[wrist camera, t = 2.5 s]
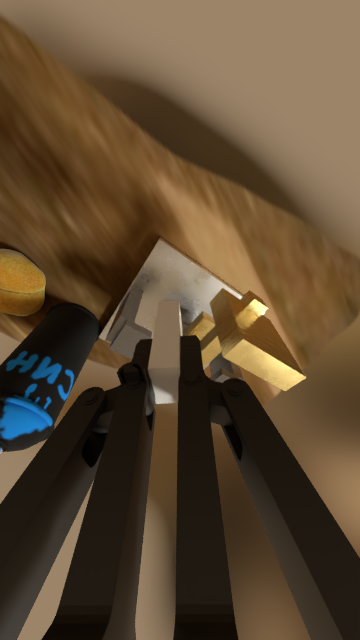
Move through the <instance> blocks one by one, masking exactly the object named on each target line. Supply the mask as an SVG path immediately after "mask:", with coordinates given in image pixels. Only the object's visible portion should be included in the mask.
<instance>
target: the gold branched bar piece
mask: <svg viewBox="0 0 360 640" xmlns="http://www.w3.org/2000/svg"><path fill="white" fill-rule="evenodd" d="M210 307H211V311H212V315H213V317H212V316H210V315H209V314H207V313H205V312H204V311H202V312H201V313H200V314H199V315H198V316H197V318H196V319H195V320H194V321H193V322H192V323H191V324H190V326H189V327H188V328H187V329H186V330H185V331H184V332H183V333H182V336H189V335H196V336H197V337H198V338H199V340H200V345H201V353H202V362H203V368H204V367H205V366H206V365H207V364H208V363H210V362H211V361H212V360H213V359H214V358H215V357H216V356H217V355H218V354H219V353H220V352H221V351H222V355H223V357H224V358H226V359H227V360H229V361H231V362H233V363H235V364H237V365H238V366H240V367H242V368H244V369H246V370H248V371H249V372H251V373H253V374H255V375H257V376H259V377H260V378H262V379H264V380H266V381H268V382H270V383H271V384H273V385H275V386H277V387H279V388H281V389H282V390H284V391H286V390H288V389H289V388H291V387H292V386H294V385H295V384H297V383H298V382H300V381H301V380H303V379H304V378H306V376H305V375H304V373H303V371H302V370H301V368H300V367H299V365H298V364H297V362H296V360H295V359H294V357H293V356H292V354H291V353H290V351H289V349H288V348H287V346H286V345H285V343H284V342H283V340H282V338H281V337H280V335H279V334H278V332H277V331H276V329H275V327H274V326H273V324H272V323H271V321H270V320H269V319H268V318H266V317H265V316H263V315H262V313H263V312H265V311H266V310H267V309H268V308H267V306H266V305H265V303H264V302H263V300H262V299H261V298H259V297H258V296H257V295H255V294H254V293H252V292H251V291H250V290H249V291H248V292H247V293H246V294H245V295H244V296H243V297H242V298H241V299H238V298H237V297H236V296H234V295H233V294H231V293H230V292H228V291H227V290H225V289H224V288H222V289H221V290H220V291H219V292H218V293H217V295H216V296H215V297H214V298H213V299H212V300H211V301H210Z"/></svg>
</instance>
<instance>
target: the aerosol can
mask: <svg viewBox="0 0 360 640" xmlns="http://www.w3.org/2000/svg"><path fill="white" fill-rule="evenodd" d="M100 333H101V327H100V324H99V322H98V320H97V318H96V317H95V316H94V315H93V314H92V313H91V312H90V311H88V310H87V309H85V308H83V307H81V306H78V305H75V304H65V303H64V304H58V305H56V306H54V307H52V308H51V309H50V310H49V311H48V312H47V315H46V317H45V318H44V319H43V320H42V321H41V322H40V323H39V324H38V325H37V327H36V328H35V329H34V330H33V331H32V332H31V333H30V334H29V335H28V336H27V337H26V338H25V339H24V340H23V342H22V343H21V344H20V345H19V346H18V347H17V348H16V349H15V350H14V351H13V352H12V353H11V354H10V356H9V357H8V358H7V359H6V360H5V361H4V362H3V363H2V364H1V365H0V455H1V453H2V452H5V451H6V452H9V451H18V450H23V449H27V448H29V447H31V446H33V445H35V444H37V443H39V442H41V441H44V440H46V439H48V438H49V436H50V435H51V434H52V432H53V431H54V424H55V422H56V420H57V417H58V416H59V414H60V411H61V409H62V407H63V405H64V403H65V401H66V399H67V397H68V395H69V393H70V391H71V389H72V387H73V385H74V383H75V381H76V379H77V377H78V375H79V373H80V371H81V369H82V367H83V365H84V363H85V361H86V359H87V357H88V355H89V353H90V351H91V349H92V347H93V345H94V343H95V342H96V341H97V340H98V338H99V336H100Z"/></svg>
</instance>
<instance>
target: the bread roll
mask: <svg viewBox="0 0 360 640" xmlns="http://www.w3.org/2000/svg"><path fill="white" fill-rule="evenodd" d="M45 285H46V279H45V275H44V273H43V272H42V271H41V270H40V269H39V268H38V267H37V266H36V265H35V264H34V263H33V262H31V261H30V260H29V259H28V258H27V257H26V256H24V255H23V254H21V253H19V252H17V251H14V250H10V249H0V312H3V313H7V314H12V315H16V316H28V315H29V314H33V313H35V312H37V311H39V310H40V309H41V307H42V305H43V304H44V300H45Z"/></svg>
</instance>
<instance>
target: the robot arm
mask: <svg viewBox="0 0 360 640" xmlns="http://www.w3.org/2000/svg"><path fill="white" fill-rule="evenodd" d="M117 374H118V377H119V380H120V382H121V385H120V386H118V387H115V388H113V389H110V390H107V391H103V389H102V388H99V387H92V388H89V389H87V390H85V391H84V392H82V393H81V394H80V395H79V396H78V398H77V399H76V401H75V402H74V403H73V405H72V406H71V407H70V409H69V410H68V412H67V413H66V414H65V416H64V417H63V419H62V420H61V421H60V423H59V424H58V426H57V427H56V428H55V429H54V431H53V432H52V434H51V435H50V436H49V438H48V439H47V441H46V442H45V443H44V445H43V446H42V447H41V449H40V450H39V452H38V453H37V454H36V456H35V457H34V459H33V460H32V461H31V463H30V464H29V465H28V467H27V468H26V470H25V471H24V472H23V474H22V475H21V476H20V478H19V479H18V480H17V482H16V483H15V485H14V486H13V487H12V489H11V490H10V491H9V493H8V494H7V496H6V497H5V498H4V500H3V501H2V503H1V504H0V640H17V638H18V636H19V634H20V632H21V630H22V627H23V626H24V623H25V621H26V619H27V617H28V615H29V613H30V611H31V609H32V607H33V605H34V603H35V601H36V599H37V597H38V594H39V592H40V590H41V588H42V586H43V584H44V582H45V580H46V578H47V576H48V574H49V572H50V569H51V567H52V565H53V563H54V561H55V559H56V557H57V555H58V553H59V551H60V549H61V547H62V545H63V542H64V540H65V538H66V536H67V534H68V532H69V530H70V528H71V526H72V524H73V522H74V520H75V518H76V515H77V513H78V511H79V509H80V507H81V505H82V503H83V501H84V499H85V497H86V495H87V493H88V490H89V488H90V486H91V484H92V482H93V480H94V483H93V486H92V490H91V493H90V497H89V501H88V504H87V508H86V511H85V515H84V518H83V522H82V525H81V529H80V533H79V537H78V540H77V543H76V547H75V550H74V554H73V558H72V561H71V565H70V568H69V572H68V575H67V579H66V582H65V586H64V589H63V593H62V597H61V600H60V604H59V607H58V610H57V613H56V616H55V618H54V620H53V623H52V624H51V626H50V627H49V629H48V630H47V632H46V634H45V635H44V636H43V638H42V640H136V633H135V614H136V603H137V594H138V584H139V574H140V564H141V554H142V543H143V534H144V523H145V514H146V503H147V494H148V484H149V474H150V463H151V454H152V444H153V434H154V424H155V414H156V413H155V407H154V403H155V400H156V404H160V403H178V450H177V451H178V453H177V454H178V455H177V539H176V543H177V544H176V615H175V628H174V638H173V640H238V635H237V630H236V624H235V617H234V610H233V602H232V594H231V587H230V578H229V570H228V561H227V553H226V544H225V537H224V528H223V520H222V513H221V504H220V496H219V487H218V479H217V471H216V463H215V454H214V446H213V438H212V430H211V422H212V423H216V424H220V425H221V426H222V429H223V431H224V434H225V436H226V438H227V441H228V443H229V446H230V448H231V450H232V453H233V455H234V457H235V460H236V462H237V464H238V467H239V469H240V472H241V474H242V476H243V479H244V481H245V484H246V486H247V488H248V490H249V493H250V495H251V498H252V500H253V503H254V505H255V507H256V510H257V512H258V514H259V517H260V519H261V522H262V524H263V526H264V528H265V531H266V533H267V536H268V538H269V540H270V543H271V545H272V548H273V550H274V552H275V555H276V557H277V559H278V562H279V564H280V567H281V569H282V571H283V574H284V576H285V578H286V581H287V583H288V585H289V588H290V590H291V593H292V595H293V597H294V600H295V602H296V605H297V607H298V609H299V612H300V614H301V616H302V619H303V621H304V623H305V626H306V628H307V631H308V633H309V635H310V637H311V640H360V558H359V556H358V555H357V553H356V552H355V550H354V549H353V547H352V545H351V544H350V542H349V541H348V539H347V538H346V536H345V535H344V533H343V532H342V530H341V528H340V527H339V525H338V524H337V522H336V520H335V519H334V517H333V516H332V514H331V513H330V511H329V510H328V508H327V507H326V505H325V503H324V502H323V500H322V499H321V497H320V496H319V494H318V492H317V491H316V489H315V488H314V486H313V485H312V483H311V482H310V480H309V479H308V477H307V475H306V474H305V472H304V471H303V469H302V468H301V466H300V464H299V463H298V461H297V460H296V458H295V457H294V455H293V454H292V452H291V450H290V449H289V447H288V446H287V444H286V443H285V441H284V440H283V438H282V437H281V435H280V433H279V432H278V430H277V429H276V427H275V426H274V424H273V422H272V421H271V419H270V418H269V416H268V415H267V413H266V412H265V410H264V408H263V407H262V405H261V404H260V402H259V401H258V399H257V398H256V396H255V394H254V393H253V391H252V390H251V388H250V387H249V385H248V384H247V383H246V382H245V381H243V380H241V379H237V378H229V379H227V380H225V381H224V382H223V383H221V382H217V381H214V380H211V379H210V378H208V377H207V376H206V375H205V373H204V370H203V362H202V353H201V345H200V340H199V338H198V337H197V336H196V335H189V336H182V321H181V312H180V302H179V300H176V301H164V302H159V305H158V311H157V317H156V323H155V328H154V334H153V339H141V340H140V341H139V342H138V343H137V344H136V347H135V351H134V354H133V358H132V362H130V363H127V364H125V365H123V366H122V367H121V368H119V370H118V372H117ZM94 478H95V479H94Z"/></svg>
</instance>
